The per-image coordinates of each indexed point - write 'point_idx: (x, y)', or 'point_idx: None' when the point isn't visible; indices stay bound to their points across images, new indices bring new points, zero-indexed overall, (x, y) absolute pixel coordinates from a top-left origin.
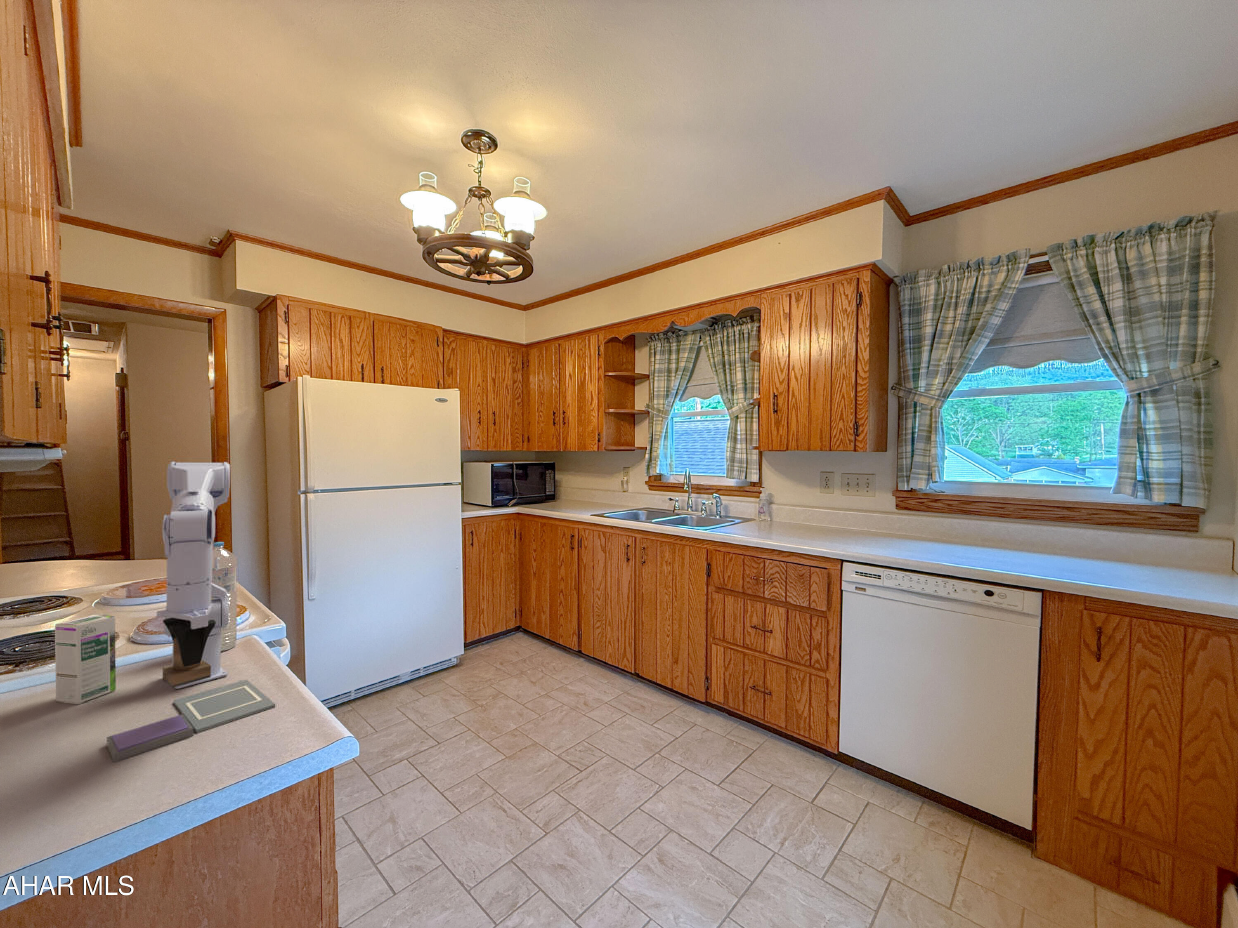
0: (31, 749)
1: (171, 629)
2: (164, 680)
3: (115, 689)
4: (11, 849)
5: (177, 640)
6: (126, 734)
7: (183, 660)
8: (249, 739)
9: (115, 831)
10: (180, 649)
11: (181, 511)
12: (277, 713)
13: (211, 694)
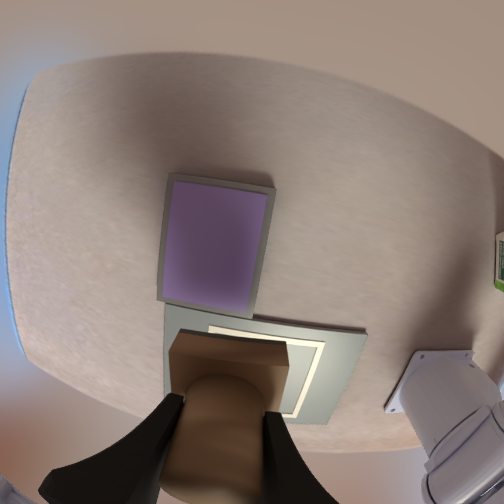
0: (386, 116)
1: (65, 496)
2: (264, 340)
3: (495, 287)
4: (62, 64)
5: (122, 463)
6: (241, 214)
7: (158, 406)
8: (80, 324)
9: (12, 145)
10: (135, 434)
11: None
12: (137, 387)
13: (321, 379)
